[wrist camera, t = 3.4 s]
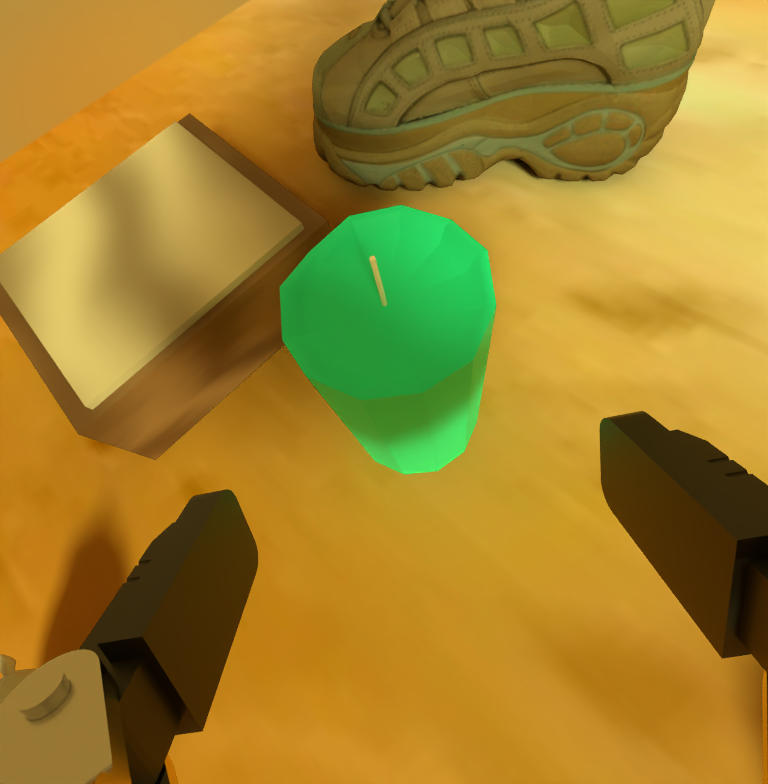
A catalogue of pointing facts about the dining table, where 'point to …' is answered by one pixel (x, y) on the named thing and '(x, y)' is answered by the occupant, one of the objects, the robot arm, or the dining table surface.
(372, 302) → the candle
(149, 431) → the wooden square box
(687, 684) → the dining table surface
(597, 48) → the sneaker
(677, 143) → the dining table surface
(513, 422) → the dining table surface
